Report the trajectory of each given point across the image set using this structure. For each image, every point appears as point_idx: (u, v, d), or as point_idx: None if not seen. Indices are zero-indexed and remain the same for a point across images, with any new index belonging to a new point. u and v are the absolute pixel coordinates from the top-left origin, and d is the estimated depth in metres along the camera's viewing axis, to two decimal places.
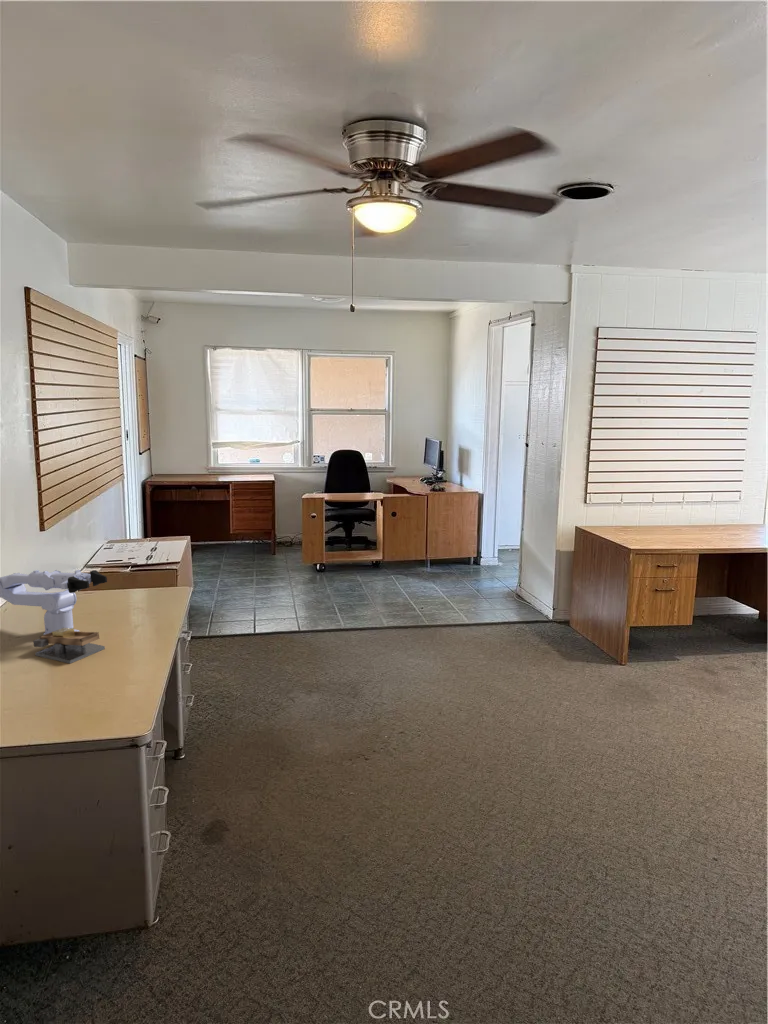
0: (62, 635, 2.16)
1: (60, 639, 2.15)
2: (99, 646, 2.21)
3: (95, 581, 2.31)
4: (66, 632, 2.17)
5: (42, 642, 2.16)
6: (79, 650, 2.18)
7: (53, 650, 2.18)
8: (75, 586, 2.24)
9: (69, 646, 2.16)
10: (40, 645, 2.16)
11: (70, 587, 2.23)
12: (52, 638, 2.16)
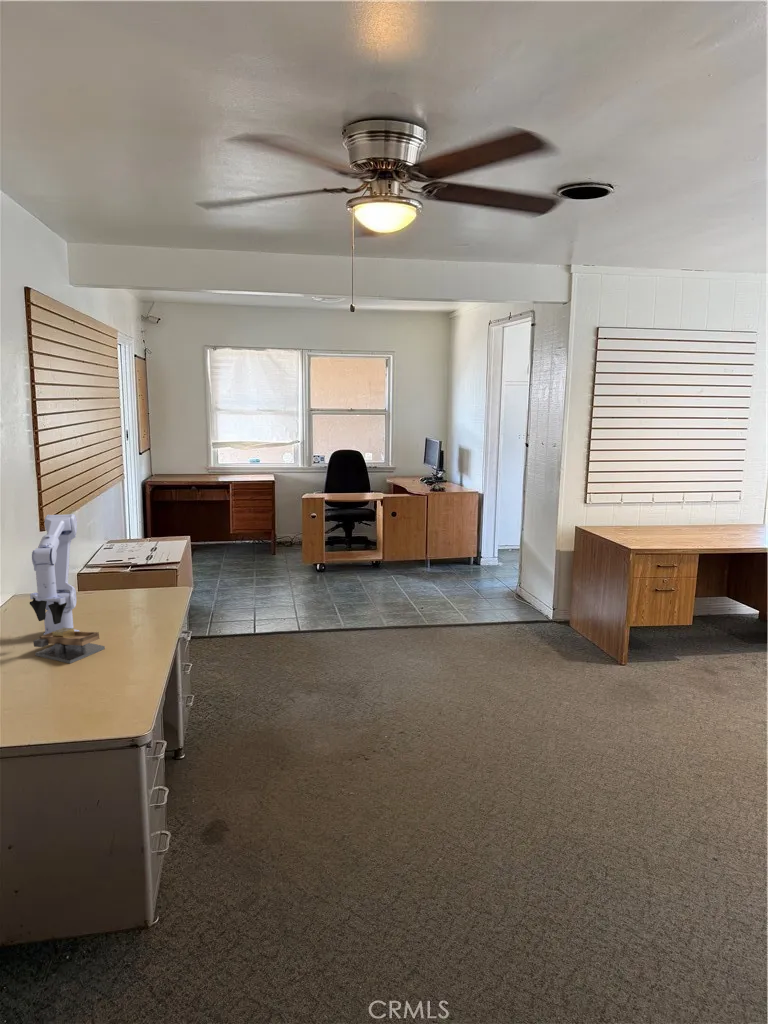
0: (62, 635, 2.16)
1: (60, 639, 2.15)
2: (99, 646, 2.21)
3: None
4: (66, 632, 2.17)
5: (42, 642, 2.16)
6: (79, 650, 2.18)
7: (53, 650, 2.18)
8: None
9: (69, 646, 2.16)
10: (40, 645, 2.16)
11: None
12: (52, 638, 2.16)
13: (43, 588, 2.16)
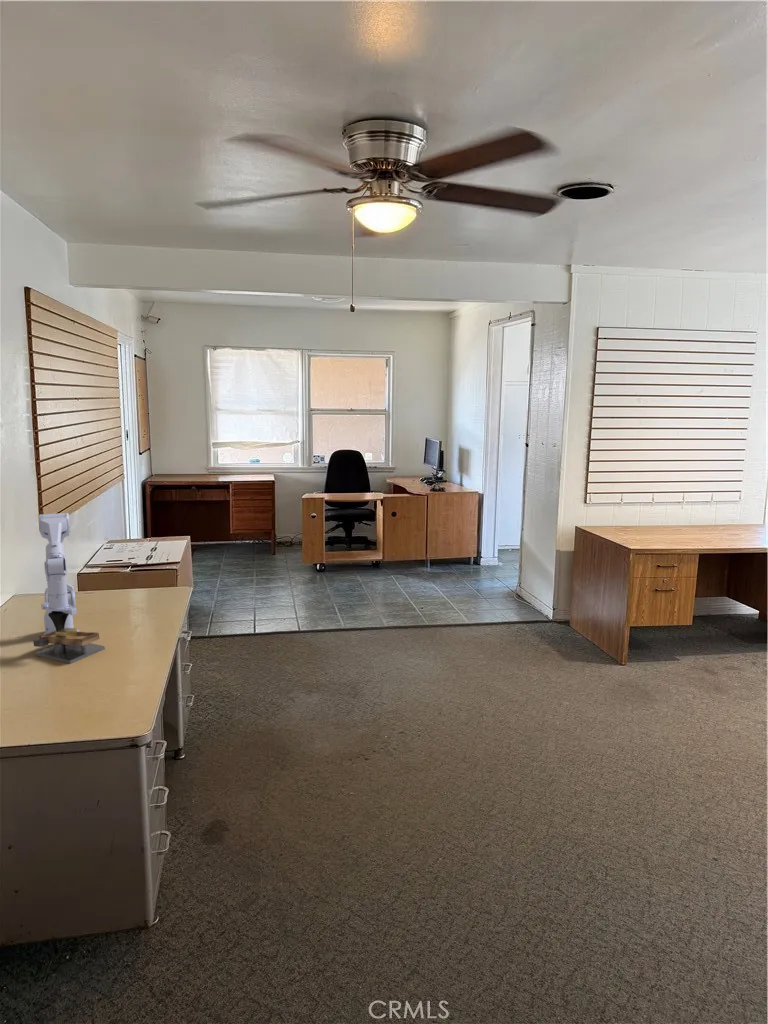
0: (65, 635, 2.15)
1: (60, 639, 2.15)
2: (99, 646, 2.21)
3: None
4: (69, 632, 2.16)
5: (42, 642, 2.16)
6: (79, 650, 2.18)
7: (53, 650, 2.18)
8: None
9: (69, 646, 2.16)
10: (40, 645, 2.16)
11: None
12: (52, 638, 2.16)
13: (55, 598, 2.15)
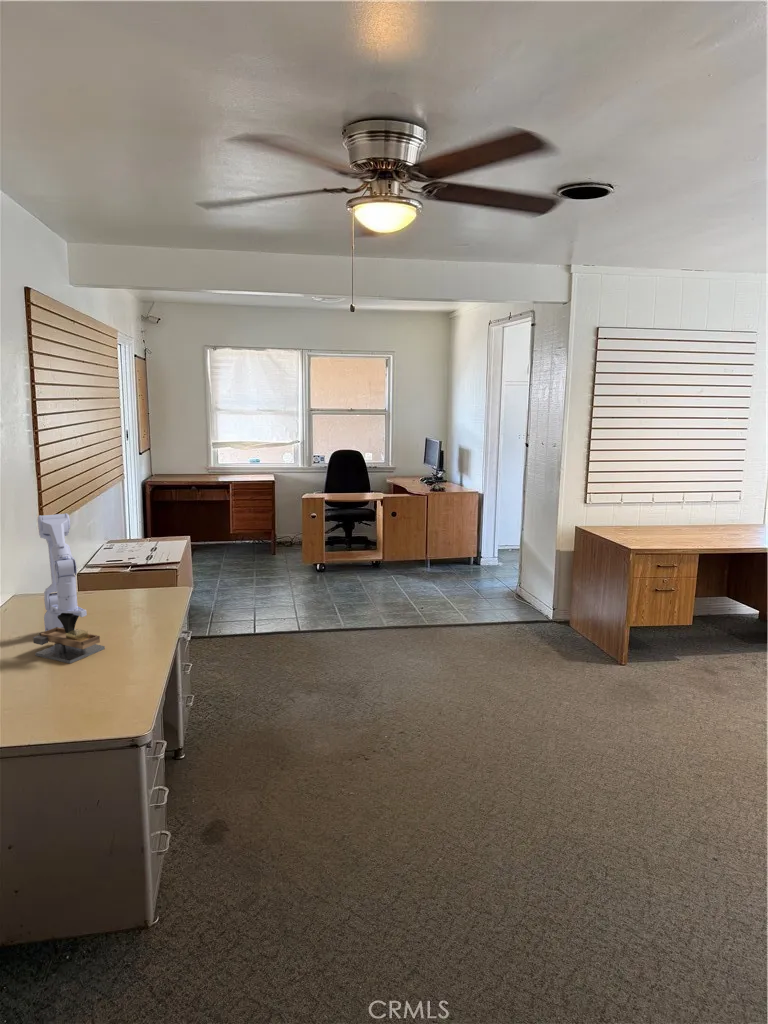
0: (75, 638, 2.13)
1: (60, 639, 2.15)
2: (99, 646, 2.21)
3: None
4: (80, 635, 2.14)
5: (42, 640, 2.15)
6: (79, 650, 2.18)
7: (53, 650, 2.18)
8: None
9: (69, 646, 2.16)
10: (40, 643, 2.15)
11: None
12: (52, 637, 2.16)
13: (64, 600, 2.13)
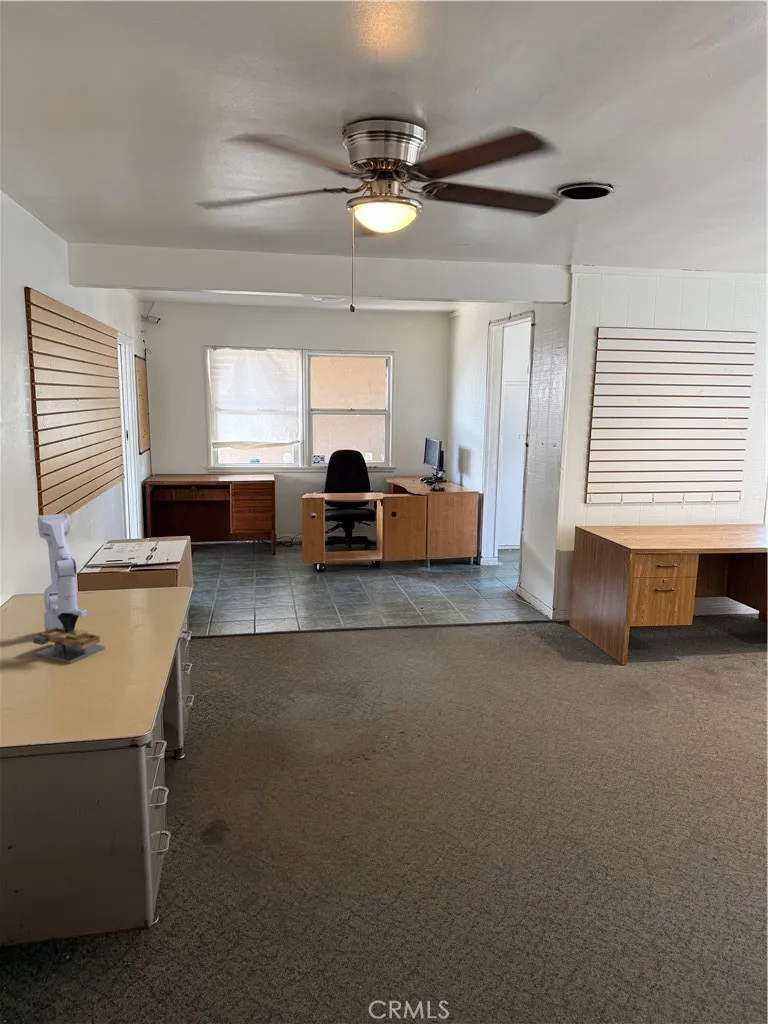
0: (76, 638, 2.13)
1: (60, 639, 2.15)
2: (99, 646, 2.21)
3: None
4: (80, 635, 2.14)
5: (42, 640, 2.15)
6: (79, 650, 2.18)
7: (53, 650, 2.18)
8: None
9: (69, 646, 2.16)
10: (40, 643, 2.15)
11: None
12: (52, 637, 2.16)
13: (64, 600, 2.13)
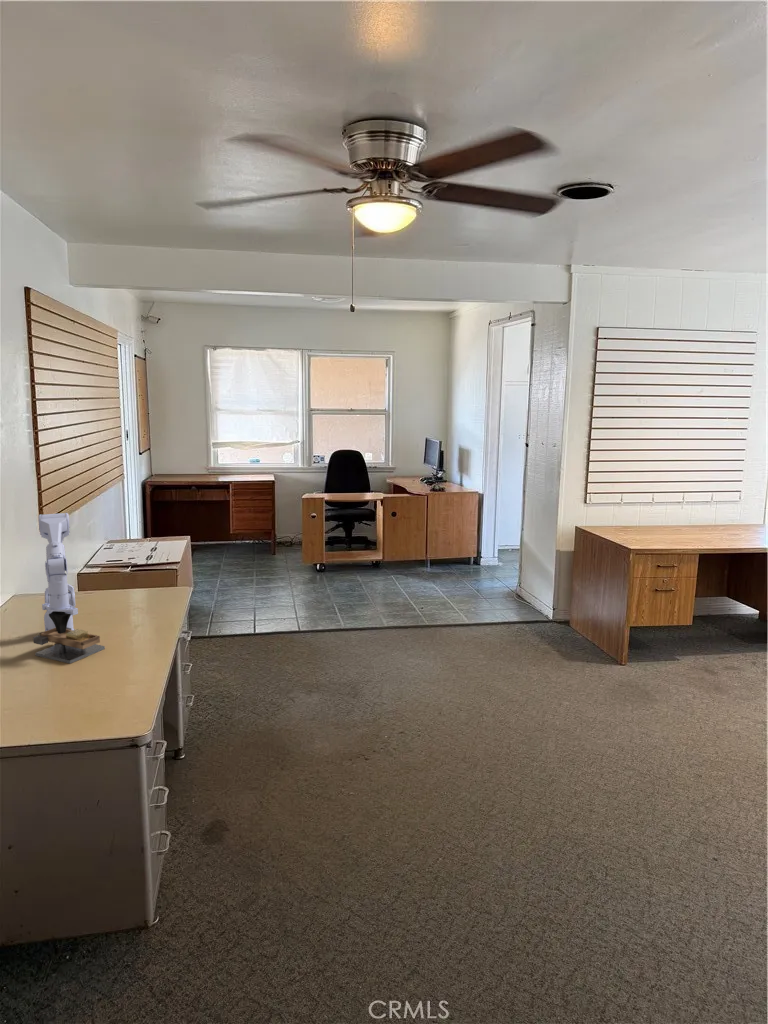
0: (76, 638, 2.13)
1: (60, 639, 2.15)
2: (99, 646, 2.21)
3: None
4: (80, 635, 2.14)
5: (42, 640, 2.15)
6: (79, 650, 2.18)
7: (53, 650, 2.18)
8: None
9: (69, 646, 2.16)
10: (40, 643, 2.15)
11: None
12: (52, 637, 2.16)
13: (56, 599, 2.14)
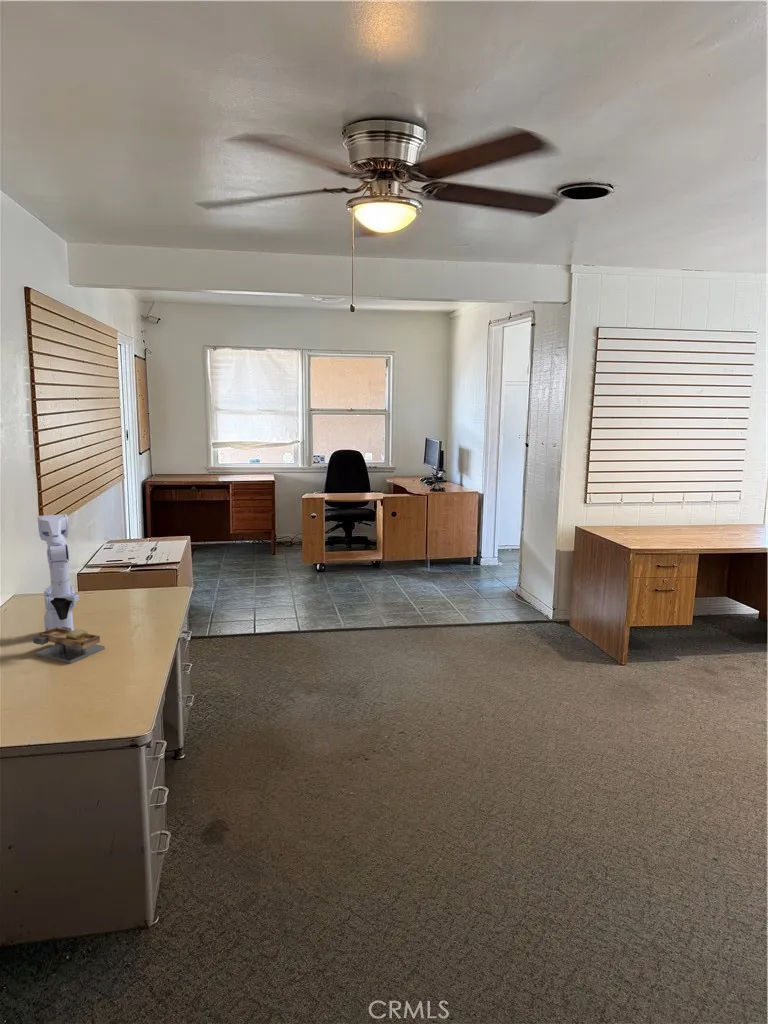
0: (76, 638, 2.13)
1: (60, 639, 2.15)
2: (99, 646, 2.21)
3: None
4: (80, 635, 2.14)
5: (42, 640, 2.15)
6: (79, 650, 2.18)
7: (53, 650, 2.18)
8: None
9: (69, 646, 2.16)
10: (40, 643, 2.15)
11: None
12: (52, 637, 2.16)
13: (58, 585, 2.18)
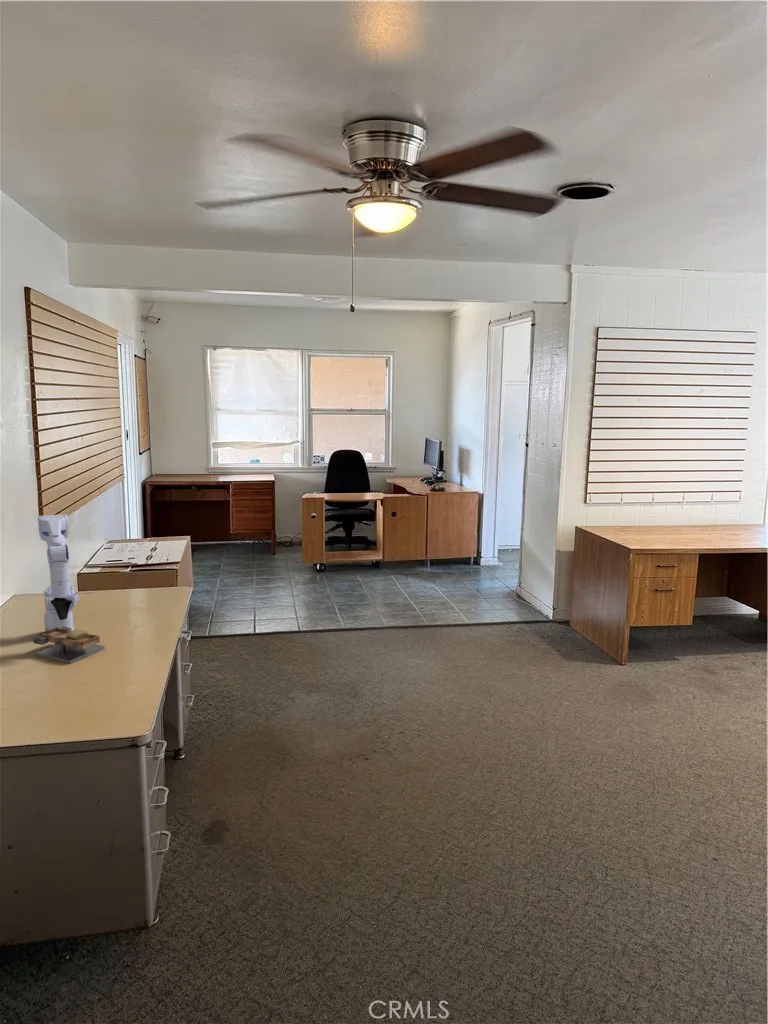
0: (76, 638, 2.13)
1: (60, 639, 2.15)
2: (99, 646, 2.21)
3: None
4: (80, 635, 2.14)
5: (42, 640, 2.15)
6: (79, 650, 2.18)
7: (53, 650, 2.18)
8: None
9: (69, 646, 2.16)
10: (40, 643, 2.15)
11: None
12: (52, 637, 2.16)
13: (58, 585, 2.18)
